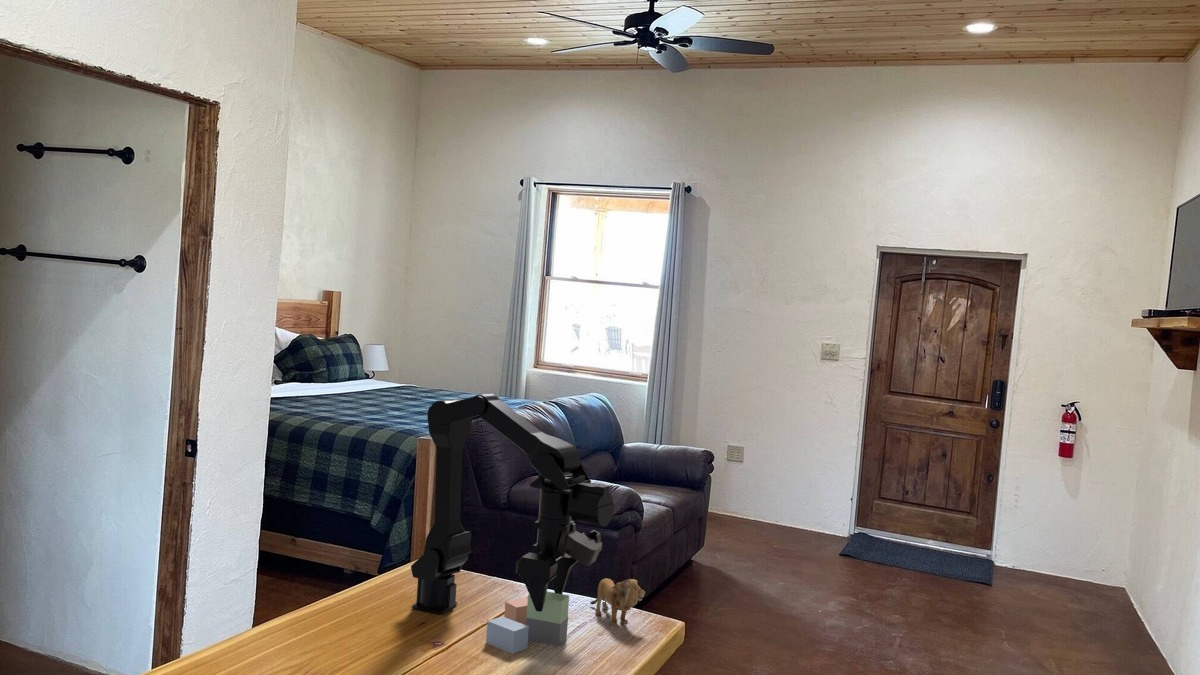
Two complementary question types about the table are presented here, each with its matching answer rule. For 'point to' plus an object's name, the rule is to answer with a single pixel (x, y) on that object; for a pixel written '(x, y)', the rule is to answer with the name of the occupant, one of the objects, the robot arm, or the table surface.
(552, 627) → the charcoal brick
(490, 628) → the slate blue brick
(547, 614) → the green brick
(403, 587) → the table surface
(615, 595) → the lion figurine
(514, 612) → the terracotta brick
